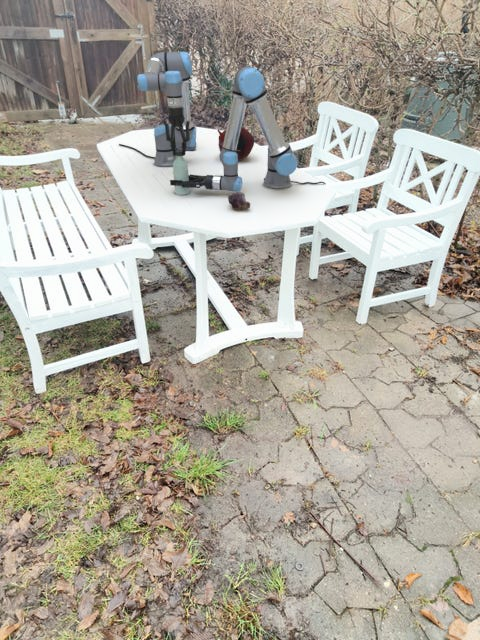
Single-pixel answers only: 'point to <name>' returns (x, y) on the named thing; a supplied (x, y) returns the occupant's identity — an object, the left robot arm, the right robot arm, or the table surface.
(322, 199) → the table surface
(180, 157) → the bottle
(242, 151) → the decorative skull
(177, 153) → the cap
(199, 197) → the table surface
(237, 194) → the rock
